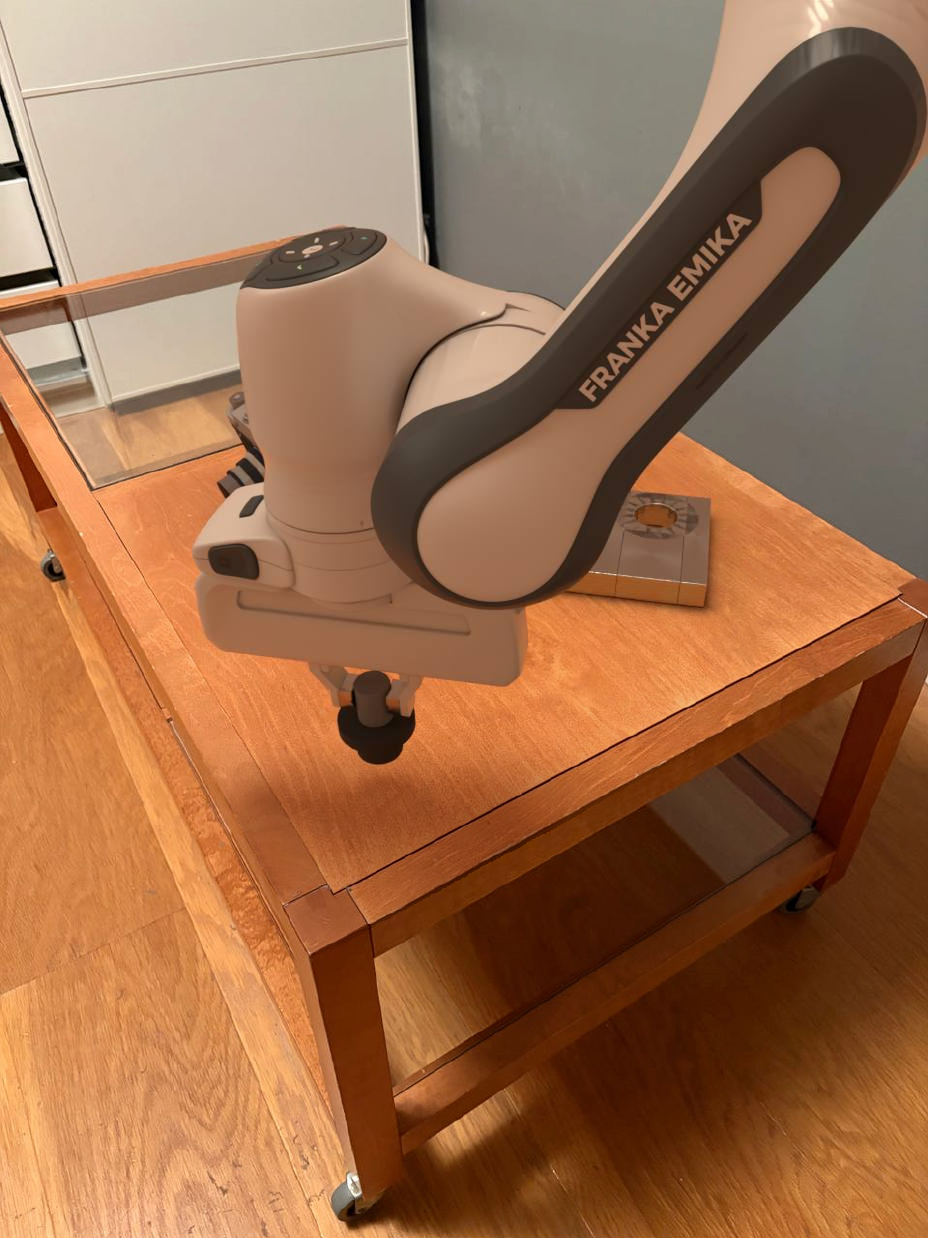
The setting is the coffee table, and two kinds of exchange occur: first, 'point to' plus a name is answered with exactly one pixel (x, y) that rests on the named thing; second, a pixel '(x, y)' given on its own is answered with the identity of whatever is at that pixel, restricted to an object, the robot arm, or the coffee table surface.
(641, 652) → the coffee table surface
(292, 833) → the coffee table surface
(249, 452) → the camera
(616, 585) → the drain plate
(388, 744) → the stopper
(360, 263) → the robot arm
